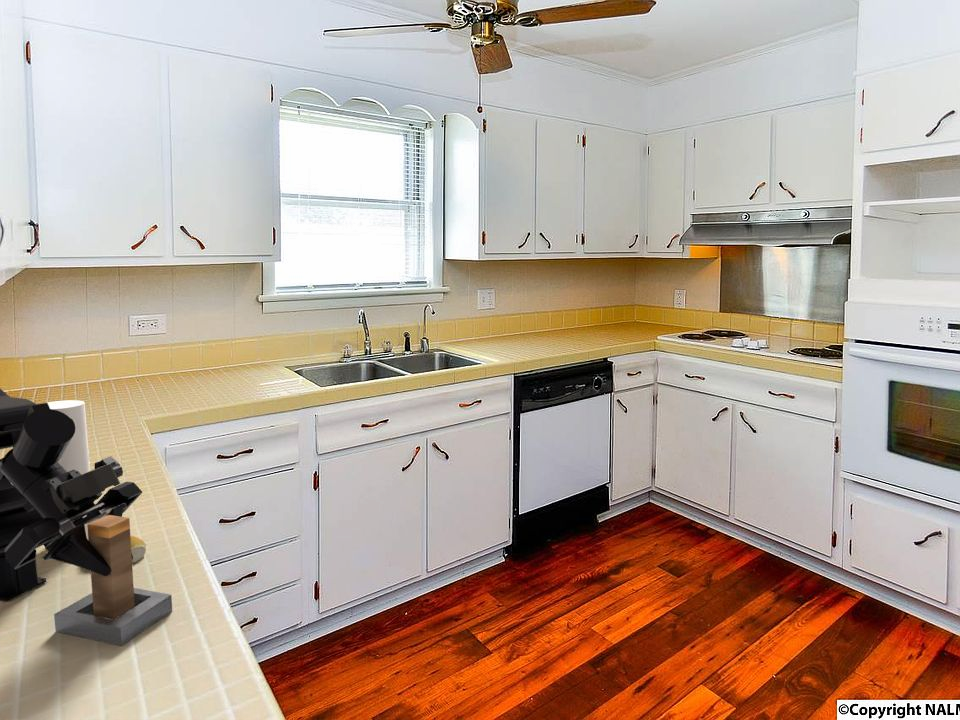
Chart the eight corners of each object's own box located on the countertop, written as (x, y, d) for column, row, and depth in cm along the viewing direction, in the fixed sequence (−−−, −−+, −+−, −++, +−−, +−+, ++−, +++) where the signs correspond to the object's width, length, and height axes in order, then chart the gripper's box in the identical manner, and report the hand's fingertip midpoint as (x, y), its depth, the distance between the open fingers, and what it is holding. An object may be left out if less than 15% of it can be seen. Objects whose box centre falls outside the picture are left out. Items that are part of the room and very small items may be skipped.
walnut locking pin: (93, 615, 90) (87, 524, 89) (114, 603, 94) (108, 514, 92) (114, 619, 89) (108, 527, 88) (134, 607, 93) (129, 518, 91)
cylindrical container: (92, 550, 114) (80, 407, 110) (43, 556, 111) (29, 410, 108) (98, 534, 121) (88, 399, 117) (52, 539, 118) (40, 401, 114)
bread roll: (112, 546, 116) (111, 524, 116) (154, 553, 114) (153, 531, 113) (71, 566, 108) (69, 543, 108) (115, 574, 106) (114, 550, 105)
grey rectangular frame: (55, 631, 89) (54, 614, 89) (110, 599, 98) (109, 583, 97) (121, 645, 86) (120, 627, 86) (172, 611, 94) (171, 594, 94)
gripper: (15, 465, 80) (101, 562, 79) (126, 427, 98) (197, 506, 97) (-33, 522, 83) (50, 615, 82) (84, 475, 101) (153, 551, 100)
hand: (120, 567), depth 90 cm, fingers closed on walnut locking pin, 4 cm apart
